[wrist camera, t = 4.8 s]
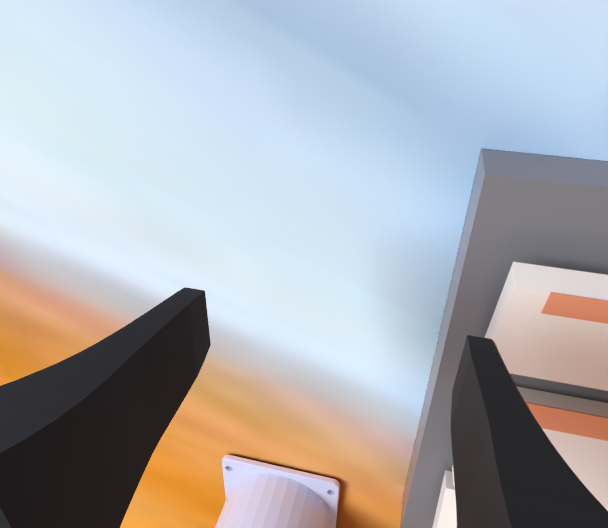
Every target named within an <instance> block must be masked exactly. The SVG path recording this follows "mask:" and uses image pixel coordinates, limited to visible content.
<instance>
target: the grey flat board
mask: <svg viewBox="0 0 608 528" xmlns="http://www.w3.org/2000/svg"><path fill="white" fill-rule="evenodd" d="M513 262H519V263H527V264H534V265H541V266H548V267H555V268H562V269H569V270H577V271H584V272H591V273H598V274H605V275H608V161H598V160H588V159H579V158H569V157H559V156H549V155H539V154H530V153H520V152H510V151H500V150H490V149H481V152H480V156H479V161H478V165H477V170H476V174H475V179H474V183H473V187H472V192H471V196H470V201H469V205H468V210H467V214H466V218H465V223H464V227H463V232H462V236H461V241H460V245H459V249H458V254H457V258H456V263H455V267H454V272H453V276H452V280H451V285H450V289H449V294H448V298H447V303H446V307H445V311H444V316H443V320H442V325H441V329H440V334H439V338H438V343H437V347H436V351H435V356H434V360H433V365H432V369H431V374H430V378H429V382H428V387H427V391H426V396H425V400H424V405H423V409H422V413H421V418H420V422H419V427H418V431H417V436H416V440H415V444H414V449H413V453H412V458H411V462H410V467H409V471H408V475H407V480H406V484H405V489H404V493H403V501H402V513H401V525H400V528H432V527H433V522H434V518H435V513H436V509H437V505H438V500H439V496H440V491H441V487H442V482H443V478H444V474H445V470H447V471H451V472H452V466H453V456H452V441H451V405H452V390H453V386H454V382H455V378H456V375H457V371H458V367H459V363H460V360H461V356H462V352H463V348H464V345H465V341H466V337H467V335H471V336H477V337H483V338H485V335H486V332H487V330H488V327H489V324H490V322H491V319H492V316H493V314H494V311H495V308H496V306H497V303H498V301H499V298H500V295H501V293H502V290H503V287H504V285H505V282H506V279H507V277H508V274H509V271H510V269H511V266H512V263H513ZM510 375H511V377H512V379H513V381H514V383H515V385H516V386H517V387H522V388H528V389H533V390H539V391H544V392H550V393H555V394H561V395H566V396H572V397H577V398H582V399H588V400H593V401H599V402H604V403H608V391H606V390H600V389H594V388H589V387H583V386H578V385H572V384H567V383H561V382H555V381H550V380H544V379H539V378H533V377H527V376H522V375H516V374H511V373H510Z"/></svg>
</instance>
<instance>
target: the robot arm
mask: <svg viewBox="0 0 608 528" xmlns="http://www.w3.org/2000/svg"><path fill="white" fill-rule="evenodd" d="M209 347H210V335H209V326H208V317H207V308H206V298H205V291H203V290H197V289H191V288H183V289H182V290H180V291H178V292H177V293H175V294H174V295H172V296H171V297H169V298H168V299H166V300H165V301H163V302H162V303H160V304H159V305H157V306H156V307H154V308H153V309H151V310H150V311H148V312H147V313H145V314H144V315H142V316H141V317H139V318H137V319H136V320H134V321H133V322H131V323H130V324H128V325H127V326H125V327H123V328H122V329H120V330H118V331H117V332H115V333H113V334H112V335H110V336H108V337H106V338H105V339H103V340H101V341H100V342H98V343H96V344H94V345H93V346H91V347H89V348H87V349H85V350H83V351H81V352H79V353H77V354H75V355H73V356H71V357H69V358H67V359H65V360H63V361H61V362H59V363H57V364H54V365H52V366H50V367H47V368H45V369H43V370H40V371H38V372H35V373H33V374H30V375H28V376H26V377H23V378H21V379H18V380H16V381H13V382H10V383H7V384H5V385H2V386H0V528H120V525H121V523H122V520H123V518H124V516H125V513H126V511H127V509H128V506H129V504H130V502H131V500H132V497H133V495H134V493H135V490H136V488H137V486H138V483H139V481H140V479H141V477H142V475H143V473H144V470H145V468H146V466H147V464H148V462H149V460H150V457H151V455H152V453H153V451H154V450H155V448H156V446H157V444H158V442H159V440H160V439H161V437H162V435H163V434H164V432H165V430H166V428H167V427H168V425H169V423H170V422H171V420H172V418H173V417H174V415H175V413H176V412H177V410H178V408H179V407H180V405H181V403H182V402H183V400H184V398H185V397H186V395H187V393H188V391H189V390H190V388H191V386H192V385H193V383H194V381H195V379H196V378H197V376H198V374H199V371H200V369H201V367H202V365H203V362H204V360H205V357H206V355H207V352H208V350H209ZM451 441H452V456H453V469H454V483H455V496H456V513H457V528H608V511H607V510H606V509H605V508H604V506H603V505H602V504H601V503H600V502H599V501H598V500H597V499H596V498H595V497H594V496H593V494H592V493H591V492H590V491H589V490H588V489H587V488H586V487H585V485H584V484H583V483H582V482H581V480H580V479H579V478H578V477H577V476H576V474H575V473H574V472H573V471H572V469H571V468H570V467H569V466H568V464H567V463H566V462H565V460H564V459H563V458H562V456H561V455H560V454H559V452H558V451H557V450H556V448H555V447H554V446H553V444H552V443H551V441H550V440H549V438H548V437H547V435H546V434H545V432H544V431H543V429H542V428H541V426H540V425H539V423H538V422H537V420H536V419H535V417H534V415H533V414H532V412H531V411H530V409H529V407H528V406H527V404H526V402H525V400H524V399H523V397H522V395H521V394H520V392H519V390H518V388H517V387H516V385H515V383H514V381H513V379H512V377H511V375H510V373H509V371H508V370H507V368H506V366H505V364H504V361H503V359H502V357H501V355H500V353H499V351H498V349H497V346H496V344H495V343H494V341H493V340H492V339H488V338H483V337H477V336H471V335H467V337H466V341H465V345H464V348H463V352H462V356H461V360H460V363H459V367H458V371H457V375H456V378H455V382H454V386H453V390H452V405H451ZM222 468H223V477H224V486H225V495H226V501H225V504H224V507H223V509H222V512H221V514H220V517H219V519H218V522H217V524H216V527H215V528H336V520H337V511H338V501H339V492H340V483H339V482H338V481H337V480H336V479H333V478H329V477H324V476H320V475H315V474H311V473H307V472H302V471H298V470H294V469H289V468H285V467H281V466H276V465H272V464H268V463H263V462H259V461H255V460H250V459H246V458H241V457H237V456H233V455H225V456H224V457H223V459H222Z"/></svg>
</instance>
